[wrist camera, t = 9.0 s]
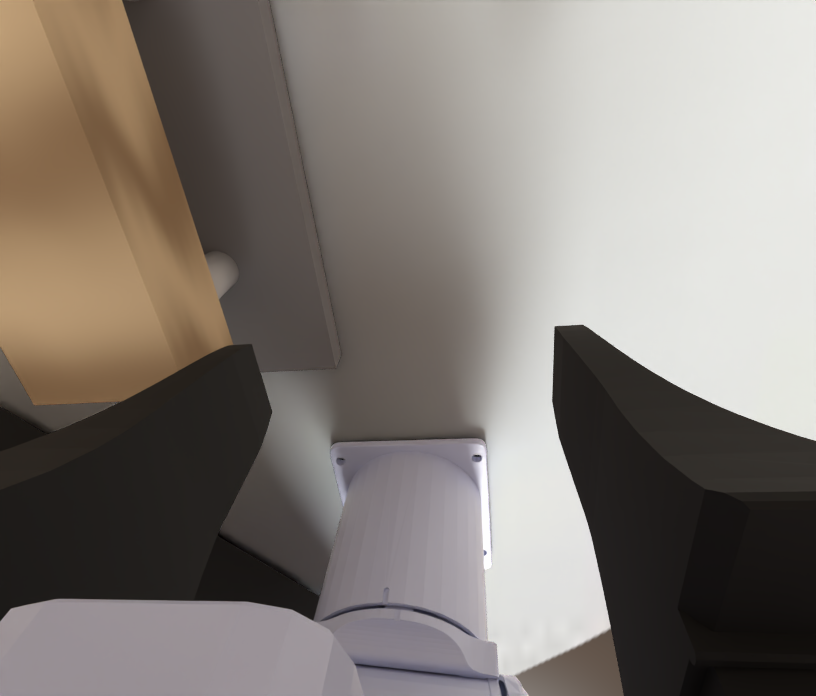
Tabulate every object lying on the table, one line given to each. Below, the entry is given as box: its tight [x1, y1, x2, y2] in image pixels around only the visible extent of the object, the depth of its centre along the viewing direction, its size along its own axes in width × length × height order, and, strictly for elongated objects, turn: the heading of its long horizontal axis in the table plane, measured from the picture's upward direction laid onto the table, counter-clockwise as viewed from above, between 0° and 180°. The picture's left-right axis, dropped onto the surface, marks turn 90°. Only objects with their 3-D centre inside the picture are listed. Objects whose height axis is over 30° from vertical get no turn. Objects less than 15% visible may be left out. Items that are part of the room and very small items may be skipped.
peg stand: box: [122, 0, 341, 372], centre depth 18 cm, size 20×11×4 cm, turn 6°
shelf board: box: [0, 0, 233, 405], centre depth 14 cm, size 14×6×4 cm, turn 7°
